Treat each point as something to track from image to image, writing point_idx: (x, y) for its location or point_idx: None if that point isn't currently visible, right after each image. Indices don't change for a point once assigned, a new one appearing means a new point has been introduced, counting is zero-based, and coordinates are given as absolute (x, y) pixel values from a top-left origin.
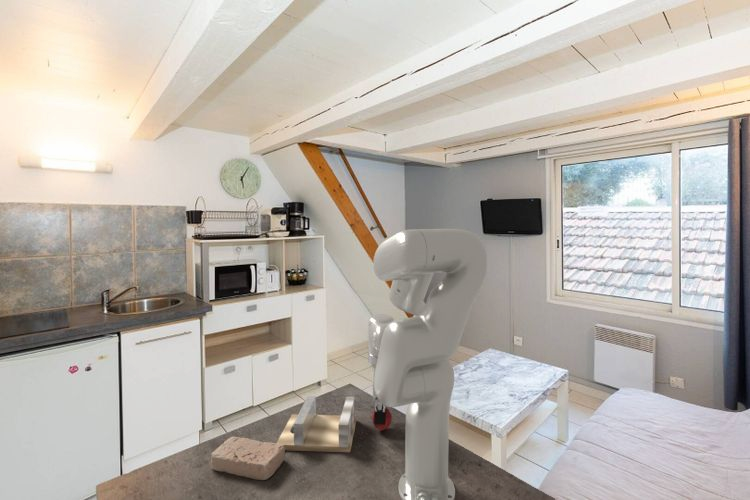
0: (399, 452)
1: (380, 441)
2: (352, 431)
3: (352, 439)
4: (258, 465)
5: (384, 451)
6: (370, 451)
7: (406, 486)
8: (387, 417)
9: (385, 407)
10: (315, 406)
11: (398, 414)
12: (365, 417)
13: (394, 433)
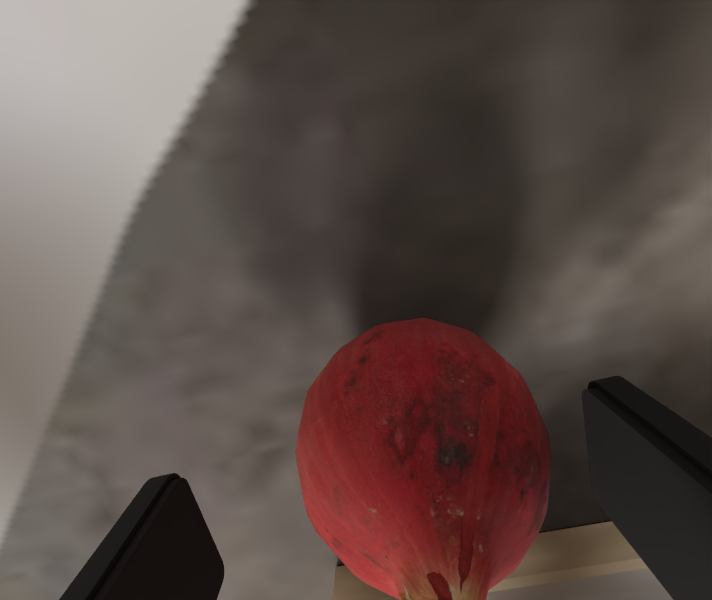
0: (707, 136)
1: (564, 340)
2: (558, 576)
3: (587, 531)
4: None
5: (700, 273)
6: (706, 378)
7: None
8: (505, 391)
9: (417, 511)
10: None
11: (109, 293)
12: (271, 524)
13: (422, 255)
